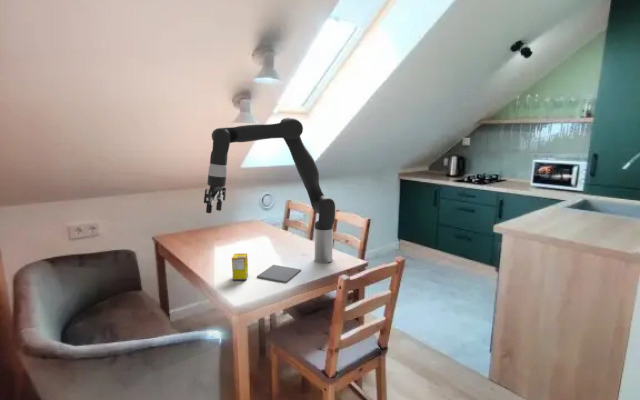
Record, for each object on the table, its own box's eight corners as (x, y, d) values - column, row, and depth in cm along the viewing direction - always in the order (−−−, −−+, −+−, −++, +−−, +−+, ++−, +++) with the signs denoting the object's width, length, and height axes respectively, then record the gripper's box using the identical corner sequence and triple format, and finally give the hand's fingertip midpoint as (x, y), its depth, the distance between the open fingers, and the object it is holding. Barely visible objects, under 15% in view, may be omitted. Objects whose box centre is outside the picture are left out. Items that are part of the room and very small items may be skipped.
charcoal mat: (273, 266, 181) (273, 264, 181) (301, 270, 176) (301, 269, 176) (257, 277, 168) (257, 276, 168) (286, 283, 162) (286, 281, 162)
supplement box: (248, 275, 170) (247, 253, 168) (246, 281, 164) (245, 257, 162) (235, 275, 170) (234, 253, 168) (232, 281, 164) (231, 257, 162)
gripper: (216, 176, 151) (213, 215, 153) (232, 175, 165) (229, 210, 167) (200, 174, 152) (197, 212, 155) (217, 173, 166) (214, 208, 168)
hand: (213, 211), depth 161 cm, fingers open, 8 cm apart
